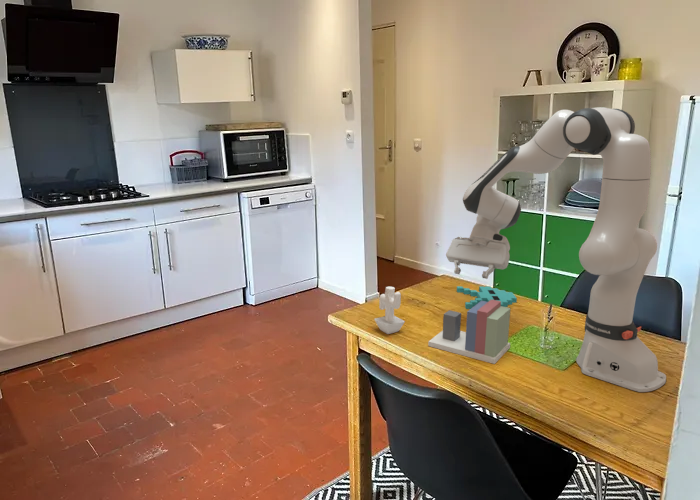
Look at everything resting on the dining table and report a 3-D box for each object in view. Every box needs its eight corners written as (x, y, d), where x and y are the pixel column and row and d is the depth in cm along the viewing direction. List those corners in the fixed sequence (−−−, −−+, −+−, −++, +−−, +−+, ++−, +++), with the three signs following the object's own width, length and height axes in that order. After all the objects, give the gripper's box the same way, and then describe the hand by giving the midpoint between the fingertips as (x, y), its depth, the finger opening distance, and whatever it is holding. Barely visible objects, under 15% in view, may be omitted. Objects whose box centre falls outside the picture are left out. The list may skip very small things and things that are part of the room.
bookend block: (459, 336, 165) (461, 312, 163) (454, 341, 162) (455, 317, 160) (448, 333, 168) (449, 310, 165) (442, 338, 164) (443, 314, 162)
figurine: (389, 323, 180) (390, 281, 176) (406, 333, 172) (408, 289, 168) (372, 328, 176) (372, 285, 172) (388, 338, 168) (389, 293, 164)
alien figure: (466, 310, 193) (521, 310, 192) (466, 304, 192) (522, 304, 192) (456, 291, 212) (506, 291, 211) (456, 286, 211) (507, 286, 211)
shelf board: (510, 347, 161) (513, 302, 157) (494, 364, 151) (498, 316, 147) (446, 331, 173) (448, 289, 169) (428, 345, 163) (429, 301, 159)
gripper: (451, 231, 179) (437, 265, 173) (511, 237, 167) (498, 275, 162) (456, 241, 183) (443, 275, 178) (515, 248, 172) (503, 285, 166)
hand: (470, 275), depth 170 cm, fingers open, 8 cm apart
